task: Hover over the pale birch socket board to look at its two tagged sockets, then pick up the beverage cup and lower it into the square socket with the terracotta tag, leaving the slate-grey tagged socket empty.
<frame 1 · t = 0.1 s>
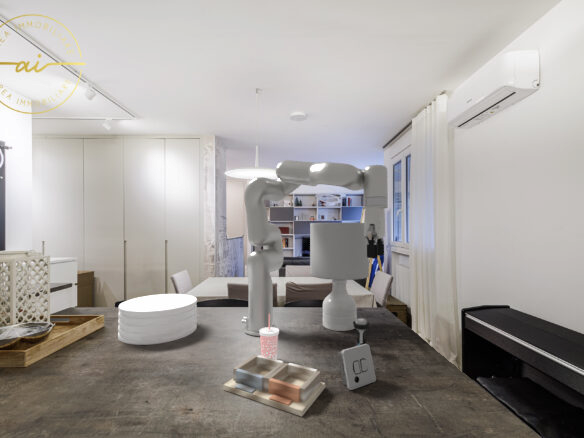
hand: (375, 256, 95), 31 cm above the kitchen island, tool pointing down, fingers open, 9 cm apart
lamp: (339, 325, 122), on the kitchen island
push button: (361, 351, 97), on the kitchen island
electrical switch: (355, 383, 77), on the kitchen island
socket board: (274, 388, 74), on the kitchen island
plate stack: (159, 331, 116), on the kitchen island
beverage cup: (269, 360, 90), on the kitchen island
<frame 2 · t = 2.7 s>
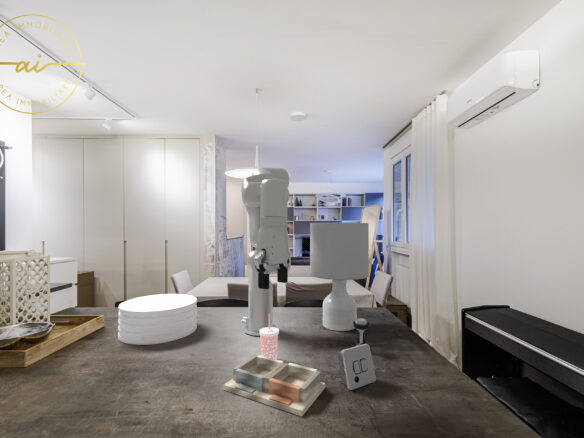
hand: (273, 285, 82), 24 cm above the kitchen island, tool pointing down, fingers open, 9 cm apart
nothing on the kitchen island moved.
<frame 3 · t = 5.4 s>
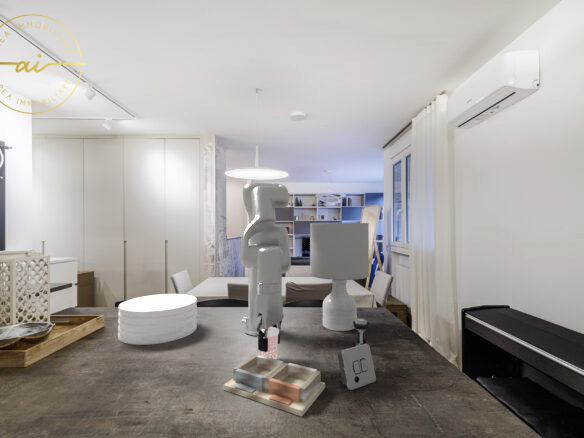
hand: (269, 346, 90), 4 cm above the kitchen island, tool pointing down, fingers closed on beverage cup, 6 cm apart
beverage cup: (269, 360, 90), on the kitchen island, touching gripper
everything else where it was.
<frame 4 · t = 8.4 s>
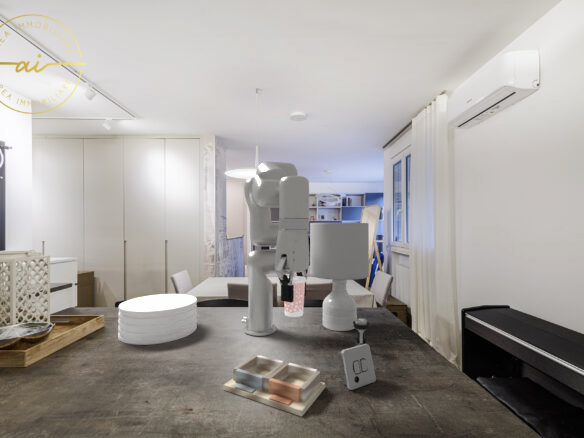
hand: (293, 297, 73), 23 cm above the kitchen island, tool pointing down, fingers closed on beverage cup, 6 cm apart
beverage cup: (293, 315, 73), point 19 cm above the kitchen island, touching gripper
everything else where it was.
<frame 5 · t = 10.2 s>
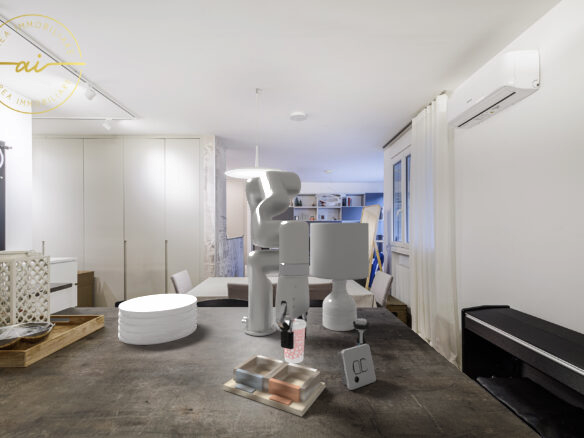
hand: (294, 342, 73), 12 cm above the kitchen island, tool pointing down, fingers closed on beverage cup, 6 cm apart
beverage cup: (294, 359, 73), point 8 cm above the kitchen island, touching gripper
everything else where it was.
when the fingers open (7 cm above the kitchen island, at t = 11.8 s): beverage cup drops 2 cm, resting on socket board.
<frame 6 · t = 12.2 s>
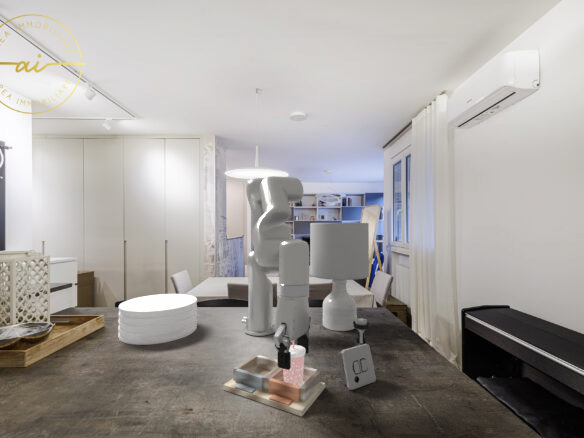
hand: (293, 359, 73), 8 cm above the kitchen island, tool pointing down, fingers open, 9 cm apart
beverage cup: (293, 387, 73), point 1 cm above the kitchen island, touching socket board
everything else where it was.
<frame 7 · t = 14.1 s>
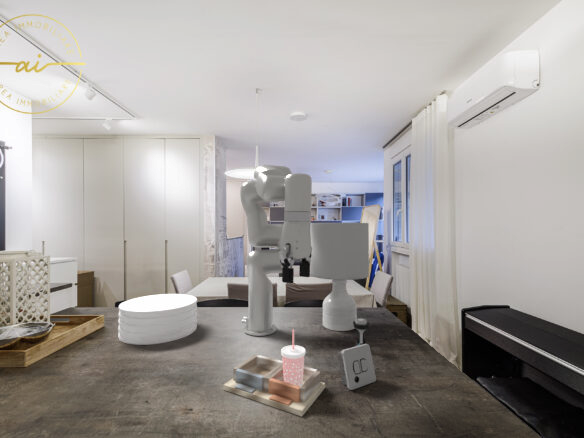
hand: (296, 279, 83), 26 cm above the kitchen island, tool pointing down, fingers open, 9 cm apart
nothing on the kitchen island moved.
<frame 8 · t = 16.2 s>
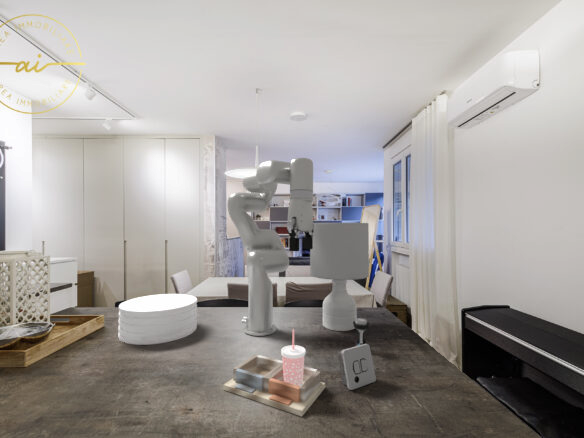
hand: (301, 250, 95), 33 cm above the kitchen island, tool pointing down, fingers open, 9 cm apart
nothing on the kitchen island moved.
at the end: beverage cup 0.2 cm from the target spot on the socket board, point 1.0 cm above the socket board's base; beverage cup tilted 0°; the gripper is holding nothing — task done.
